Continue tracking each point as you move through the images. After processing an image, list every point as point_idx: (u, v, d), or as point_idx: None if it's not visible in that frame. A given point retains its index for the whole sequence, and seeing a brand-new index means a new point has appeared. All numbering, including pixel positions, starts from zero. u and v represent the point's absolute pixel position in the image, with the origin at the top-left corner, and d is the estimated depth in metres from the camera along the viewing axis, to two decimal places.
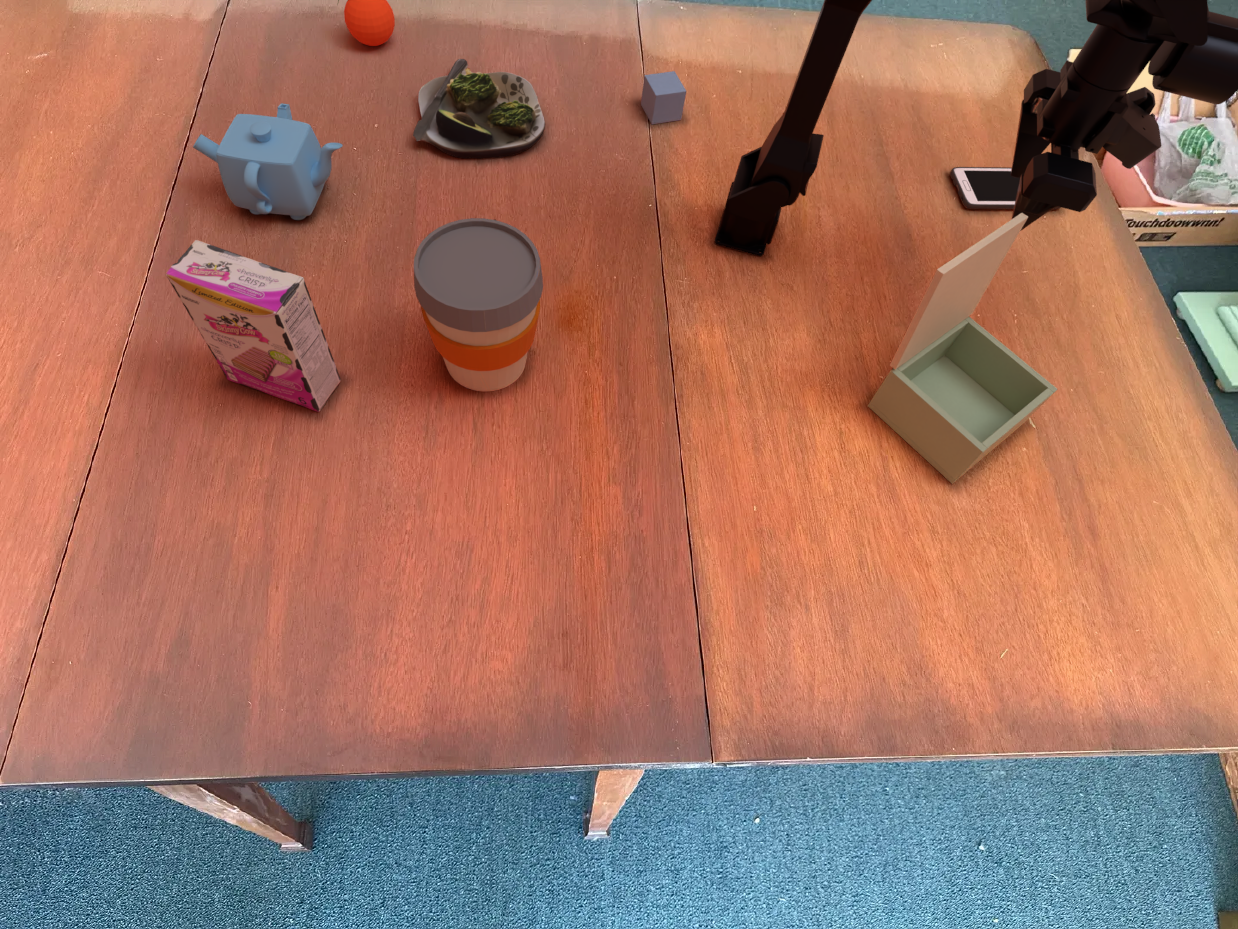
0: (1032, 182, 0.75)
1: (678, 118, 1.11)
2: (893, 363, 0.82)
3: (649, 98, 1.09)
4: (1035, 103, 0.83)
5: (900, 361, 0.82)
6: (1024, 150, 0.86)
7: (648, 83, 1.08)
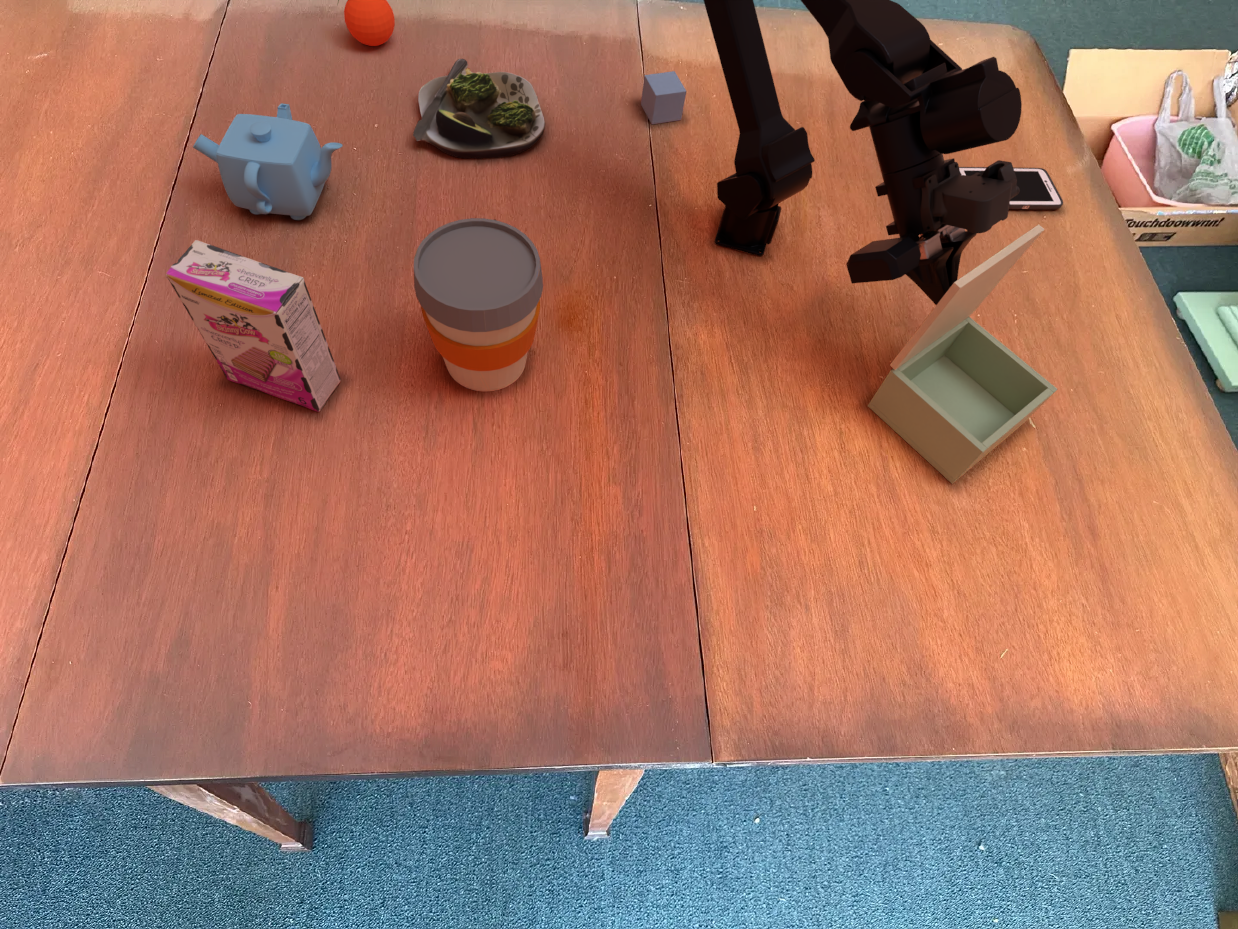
0: None
1: (678, 118, 1.11)
2: (893, 364, 0.82)
3: (649, 98, 1.09)
4: (922, 234, 0.81)
5: (901, 362, 0.82)
6: None
7: (648, 83, 1.08)
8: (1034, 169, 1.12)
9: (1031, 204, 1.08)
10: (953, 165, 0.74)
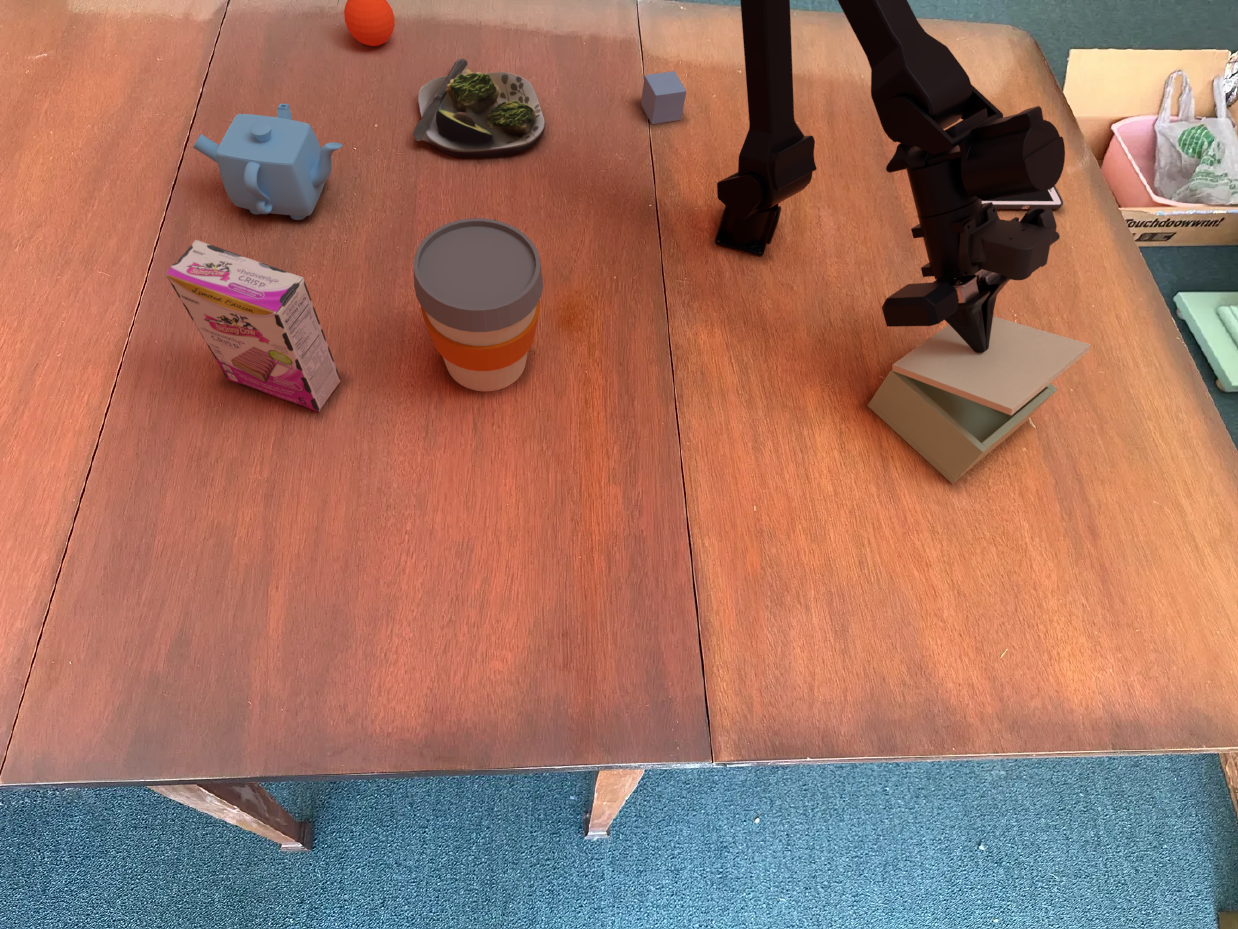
0: None
1: (678, 118, 1.11)
2: (896, 368, 0.82)
3: (649, 98, 1.09)
4: None
5: None
6: None
7: (648, 83, 1.08)
8: None
9: (1031, 204, 1.08)
10: (991, 209, 0.74)
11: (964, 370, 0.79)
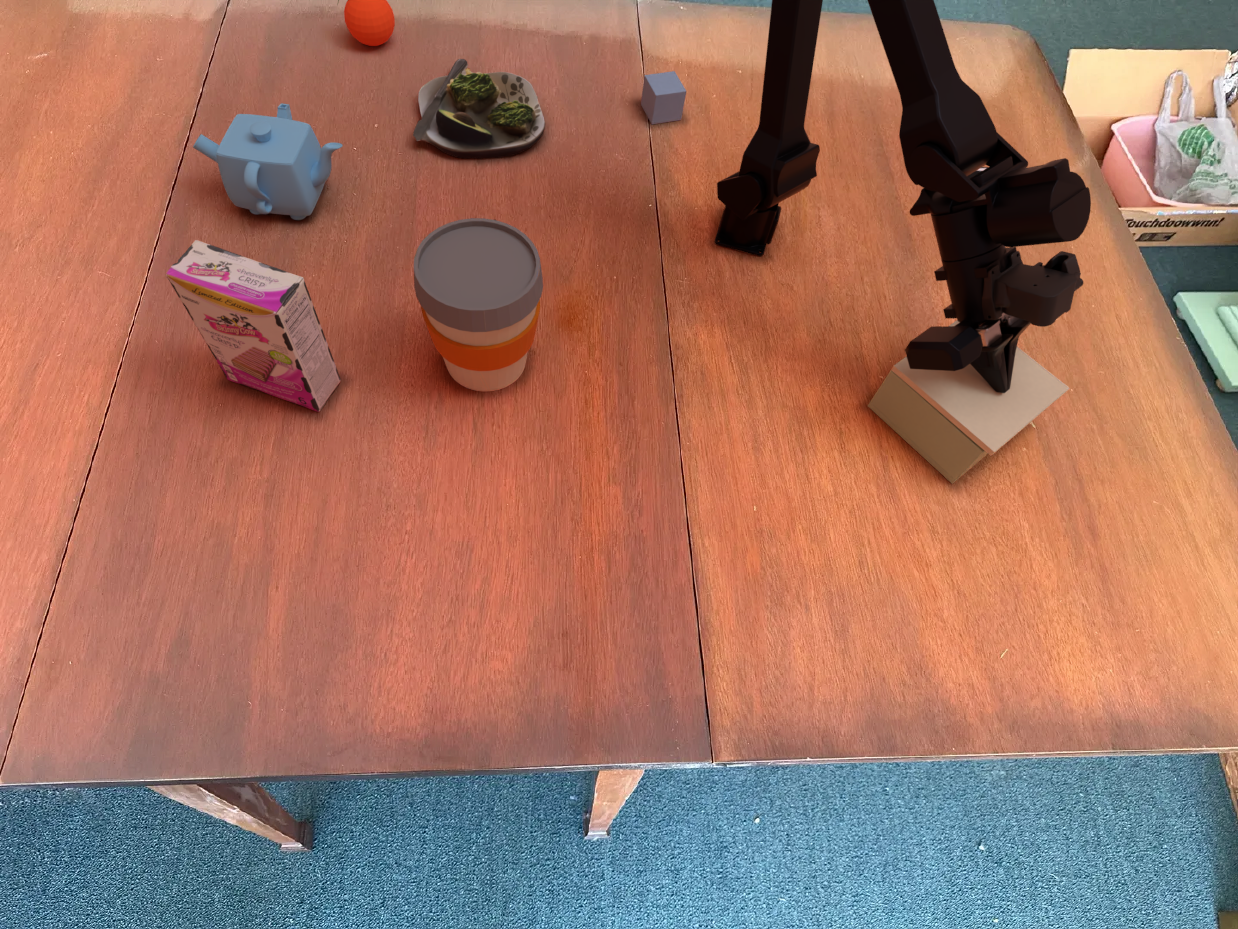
0: None
1: (678, 118, 1.11)
2: (896, 370, 0.82)
3: (649, 98, 1.09)
4: None
5: None
6: None
7: (648, 83, 1.08)
8: None
9: None
10: (1015, 254, 0.74)
11: (958, 391, 0.81)
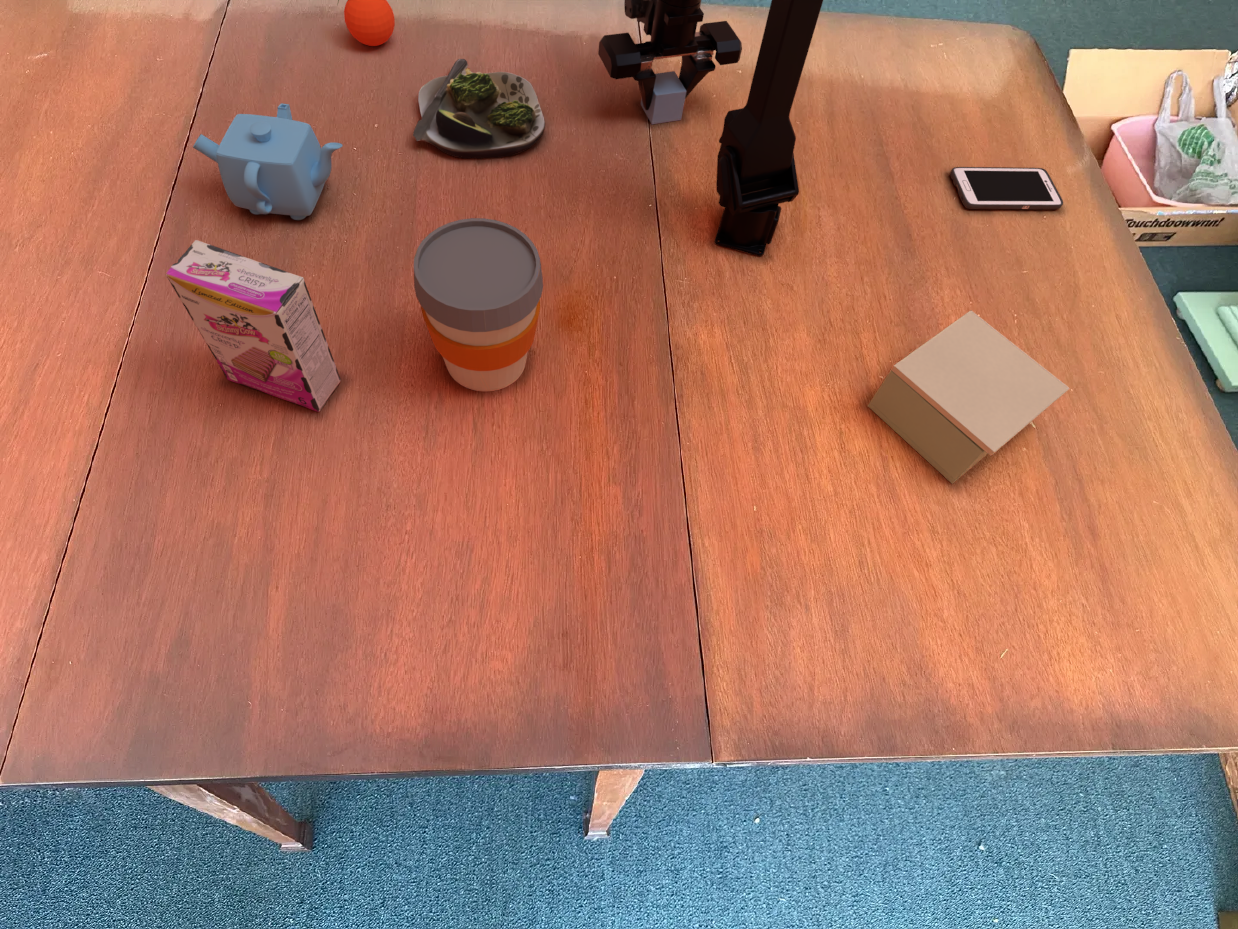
0: (740, 52, 1.04)
1: (678, 118, 1.11)
2: (896, 370, 0.82)
3: None
4: (649, 66, 1.02)
5: None
6: None
7: None
8: (1034, 169, 1.12)
9: (1031, 204, 1.08)
10: None
11: (958, 391, 0.81)
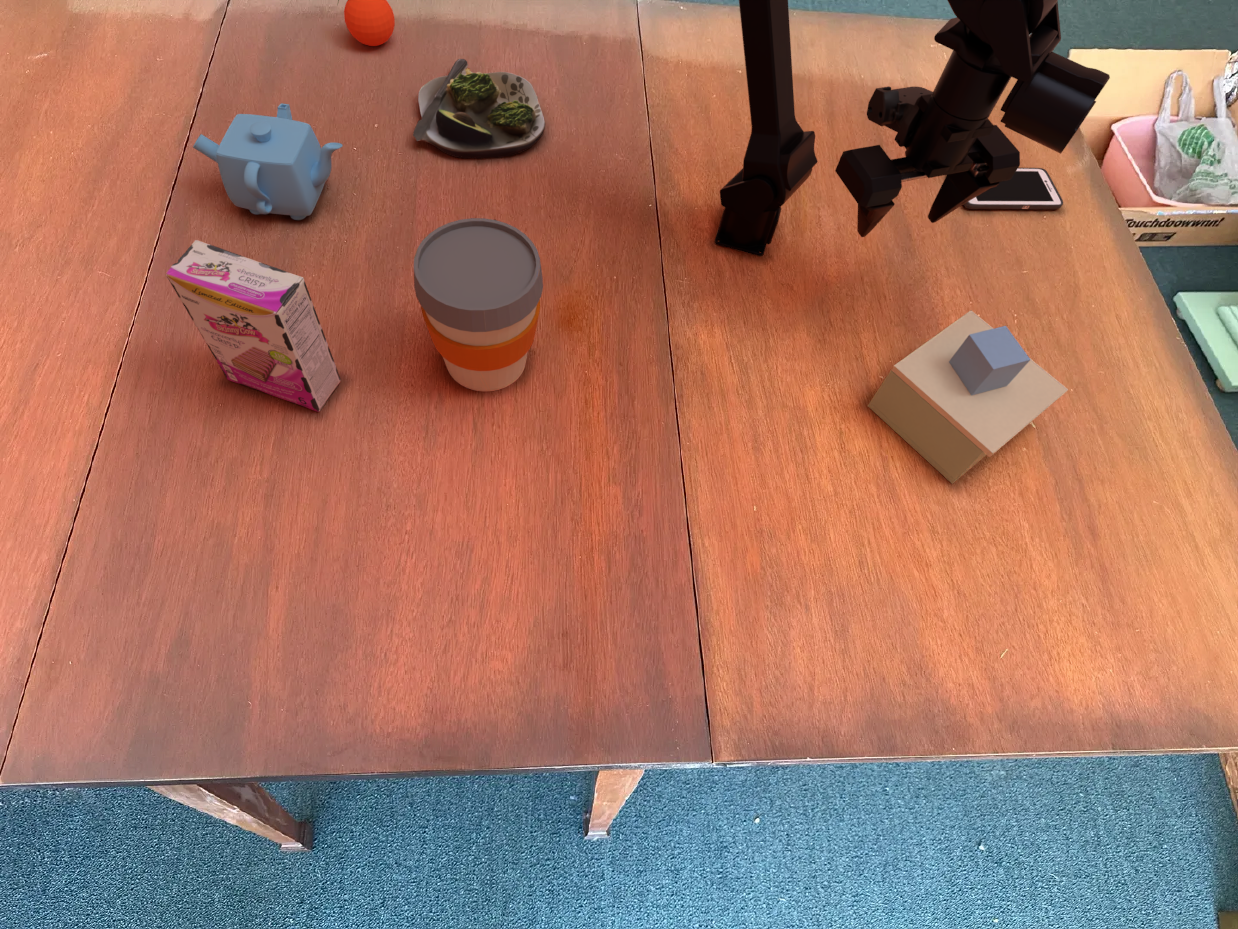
0: (1017, 167, 0.80)
1: (1005, 385, 0.82)
2: (896, 370, 0.82)
3: (975, 365, 0.80)
4: None
5: None
6: None
7: (977, 348, 0.79)
8: (1034, 169, 1.12)
9: (1031, 204, 1.08)
10: None
11: (958, 392, 0.81)
